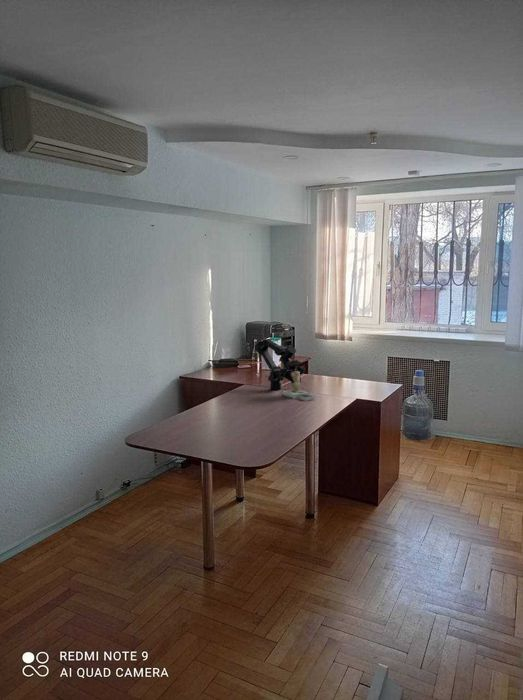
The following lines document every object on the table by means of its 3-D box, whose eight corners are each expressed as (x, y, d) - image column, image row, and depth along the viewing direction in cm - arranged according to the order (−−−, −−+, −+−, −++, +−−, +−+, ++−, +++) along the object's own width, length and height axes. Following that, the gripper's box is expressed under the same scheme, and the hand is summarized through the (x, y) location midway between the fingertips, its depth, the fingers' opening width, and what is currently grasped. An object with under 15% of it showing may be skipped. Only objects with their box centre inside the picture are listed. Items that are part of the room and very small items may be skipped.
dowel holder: (297, 398, 320) (297, 395, 320) (307, 397, 324) (307, 394, 324) (304, 401, 314) (304, 397, 314) (314, 399, 318) (314, 396, 318)
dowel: (290, 392, 327) (290, 372, 325) (293, 390, 331) (293, 371, 330) (297, 393, 325) (298, 373, 323) (300, 391, 329) (300, 371, 328)
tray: (282, 395, 330) (282, 391, 330) (297, 393, 336) (297, 389, 336) (293, 398, 320) (293, 394, 320) (308, 396, 327) (308, 392, 326)
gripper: (280, 356, 323) (290, 376, 316) (304, 354, 333) (314, 373, 326) (273, 366, 331) (282, 386, 323) (296, 364, 341) (306, 383, 333)
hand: (296, 382), depth 326 cm, fingers closed on dowel, 5 cm apart
